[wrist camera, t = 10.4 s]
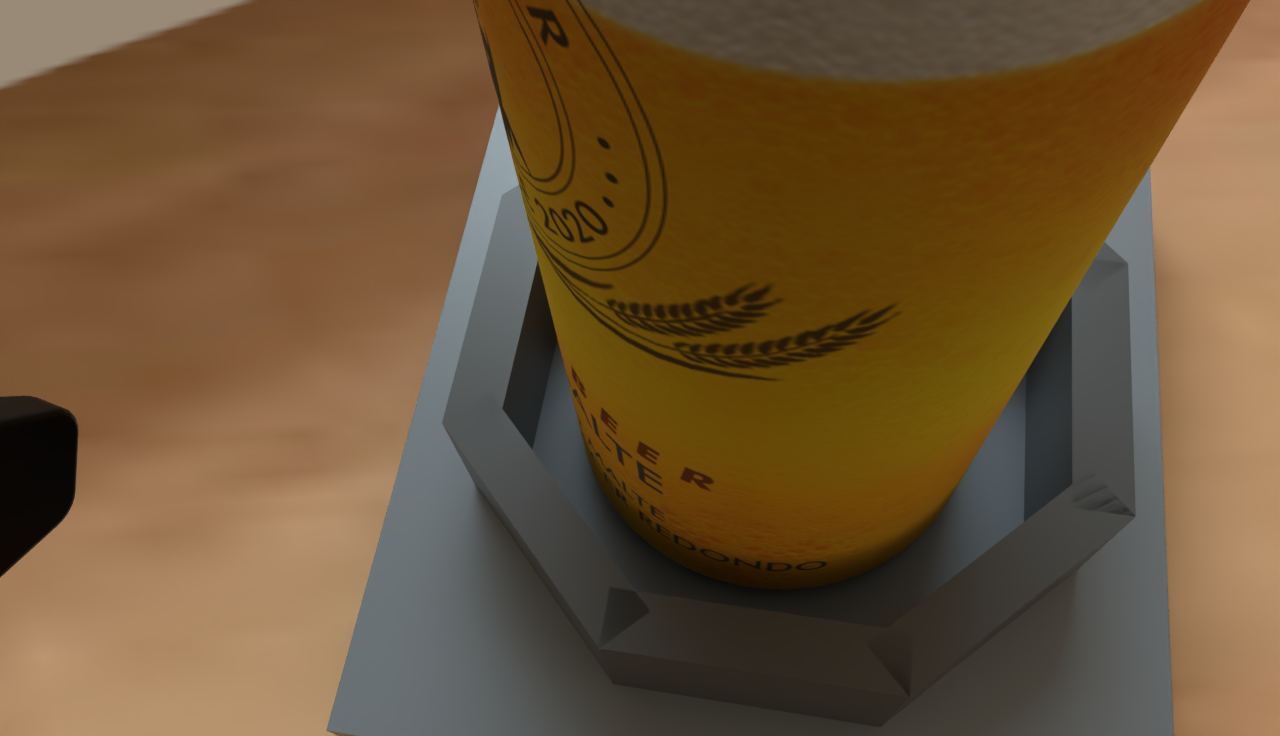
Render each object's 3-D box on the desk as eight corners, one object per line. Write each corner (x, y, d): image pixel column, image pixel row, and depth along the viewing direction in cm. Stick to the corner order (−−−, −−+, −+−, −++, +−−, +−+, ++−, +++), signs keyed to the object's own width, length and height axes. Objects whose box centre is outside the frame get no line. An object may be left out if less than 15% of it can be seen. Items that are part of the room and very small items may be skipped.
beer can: (554, 299, 19) (215, -1133, 6) (893, 229, 19) (1322, -1289, 6) (625, 642, 17) (291, -536, 3) (1015, 555, 17) (2277, -868, 3)
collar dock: (1139, 878, 16) (1265, 870, 13) (355, 743, 18) (265, 701, 14) (1121, 201, 21) (1206, 57, 18) (515, 138, 23) (480, -7, 19)
